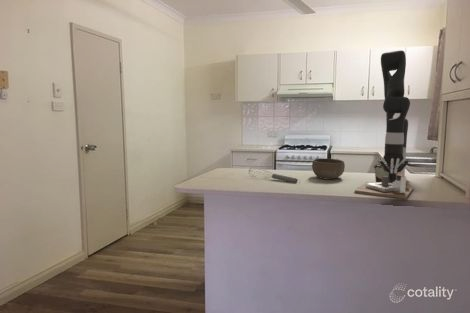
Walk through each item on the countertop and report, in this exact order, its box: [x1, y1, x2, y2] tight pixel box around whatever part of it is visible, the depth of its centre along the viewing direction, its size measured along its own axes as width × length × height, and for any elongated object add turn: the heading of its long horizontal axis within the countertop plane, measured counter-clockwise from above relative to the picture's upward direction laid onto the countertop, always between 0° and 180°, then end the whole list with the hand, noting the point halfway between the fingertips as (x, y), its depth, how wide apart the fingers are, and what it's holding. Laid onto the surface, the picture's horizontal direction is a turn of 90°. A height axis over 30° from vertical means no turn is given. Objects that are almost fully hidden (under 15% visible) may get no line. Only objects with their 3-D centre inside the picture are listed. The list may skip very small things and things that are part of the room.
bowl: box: [311, 158, 346, 180], centre depth 203 cm, size 17×18×10 cm
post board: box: [354, 176, 415, 199], centre depth 169 cm, size 22×22×7 cm
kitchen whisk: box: [248, 166, 301, 184], centre depth 198 cm, size 6×34×6 cm, turn 50°
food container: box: [373, 163, 397, 184], centre depth 187 cm, size 12×6×10 cm, turn 59°
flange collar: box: [366, 174, 407, 193], centre depth 167 cm, size 16×12×8 cm
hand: (391, 181), depth 160 cm, fingers closed
